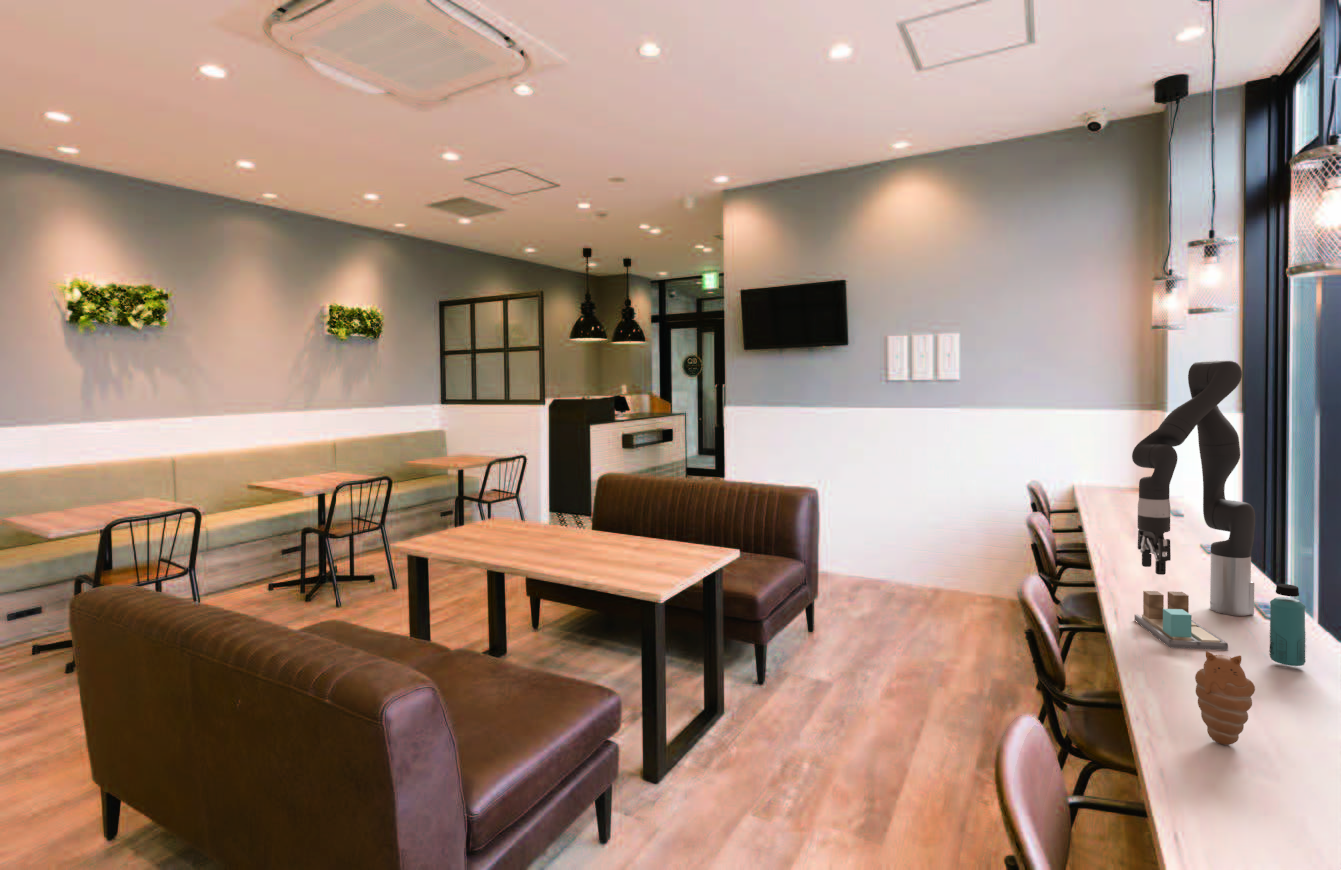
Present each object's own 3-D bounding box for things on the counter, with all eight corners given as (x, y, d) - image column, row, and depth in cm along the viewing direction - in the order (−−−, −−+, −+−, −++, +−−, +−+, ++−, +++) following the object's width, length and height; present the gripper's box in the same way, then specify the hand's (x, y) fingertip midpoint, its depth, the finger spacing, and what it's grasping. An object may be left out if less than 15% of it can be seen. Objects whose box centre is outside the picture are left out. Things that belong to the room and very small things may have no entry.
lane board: (1185, 622, 192) (1185, 614, 192) (1227, 650, 172) (1227, 641, 172) (1134, 620, 195) (1134, 612, 195) (1169, 647, 175) (1169, 639, 175)
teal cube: (1182, 631, 180) (1182, 609, 179) (1191, 637, 175) (1191, 615, 175) (1162, 630, 181) (1162, 608, 180) (1171, 636, 176) (1171, 614, 176)
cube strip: (1157, 618, 193) (1157, 590, 192) (1191, 642, 175) (1191, 612, 174) (1141, 617, 194) (1141, 590, 193) (1173, 641, 176) (1174, 611, 175)
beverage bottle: (1312, 673, 157) (1314, 589, 156) (1280, 672, 158) (1281, 589, 157) (1293, 662, 163) (1294, 581, 162) (1261, 661, 165) (1262, 581, 163)
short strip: (1181, 618, 191) (1182, 591, 191) (1196, 628, 184) (1196, 600, 183) (1165, 618, 192) (1165, 590, 192) (1179, 627, 185) (1179, 599, 184)
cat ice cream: (1197, 748, 128) (1197, 656, 127) (1191, 729, 135) (1191, 642, 133) (1257, 759, 123) (1258, 664, 122) (1248, 739, 130) (1249, 649, 129)
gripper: (1181, 518, 181) (1181, 577, 182) (1157, 509, 195) (1156, 564, 196) (1150, 518, 183) (1149, 576, 184) (1128, 509, 197) (1127, 563, 198)
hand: (1153, 570), depth 190 cm, fingers open, 8 cm apart
